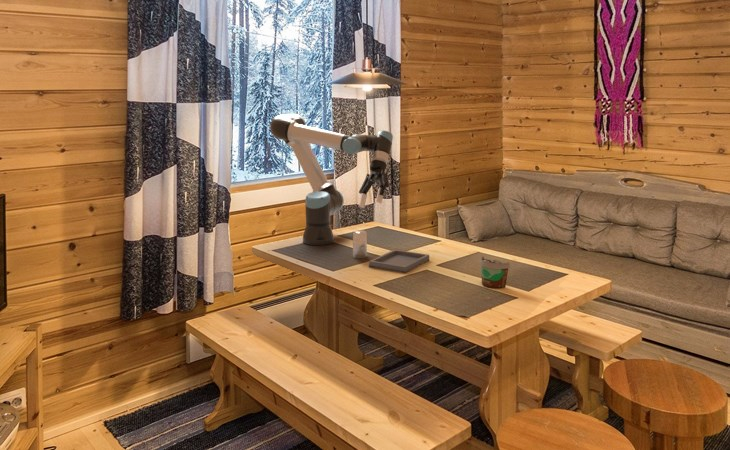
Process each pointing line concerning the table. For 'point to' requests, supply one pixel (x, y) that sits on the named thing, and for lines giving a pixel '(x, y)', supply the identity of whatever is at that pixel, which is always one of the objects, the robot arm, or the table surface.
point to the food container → (494, 273)
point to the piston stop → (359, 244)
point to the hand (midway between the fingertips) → (369, 204)
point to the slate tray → (399, 261)
